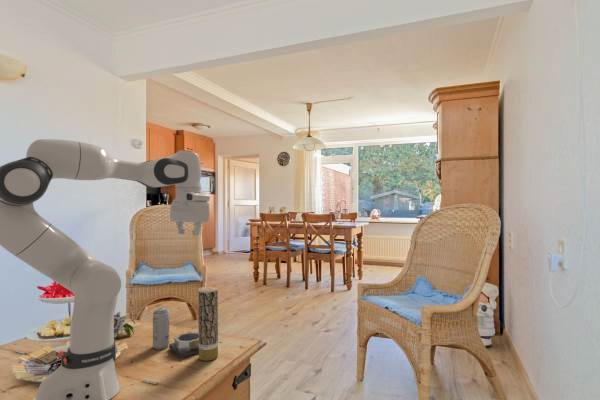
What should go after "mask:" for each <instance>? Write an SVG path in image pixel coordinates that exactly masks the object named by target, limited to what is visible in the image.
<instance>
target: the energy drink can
mask: <svg viewBox="0 0 600 400" xmlns="http://www.w3.org/2000/svg"><path fill="white" fill-rule="evenodd" d="M169 344H170V311H169V308H168V307H167V306H159V307H155V308H154V311H153V313H152V347H153V348H154V349H155V350H157V351H158V350H164V349H167V348H168V347H169Z"/></svg>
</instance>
